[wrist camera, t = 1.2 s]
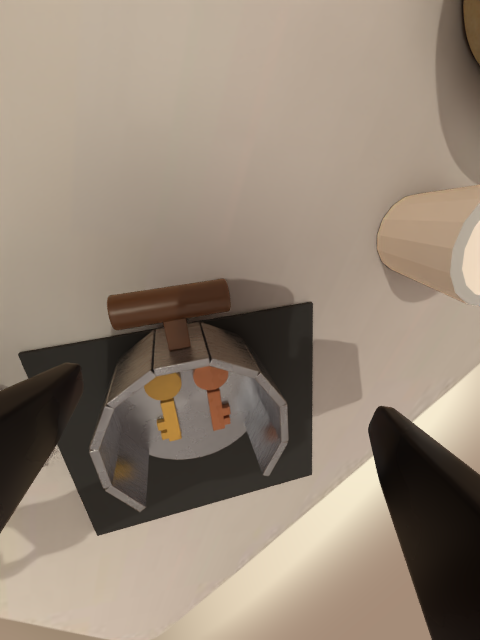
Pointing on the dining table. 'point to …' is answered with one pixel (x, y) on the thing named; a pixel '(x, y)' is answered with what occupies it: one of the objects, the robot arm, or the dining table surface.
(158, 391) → the brass key
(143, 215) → the dining table surface
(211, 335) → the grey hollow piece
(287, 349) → the mat
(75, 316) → the dining table surface
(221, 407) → the copper key
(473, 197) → the white tapered cylinder
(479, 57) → the planter bowl
